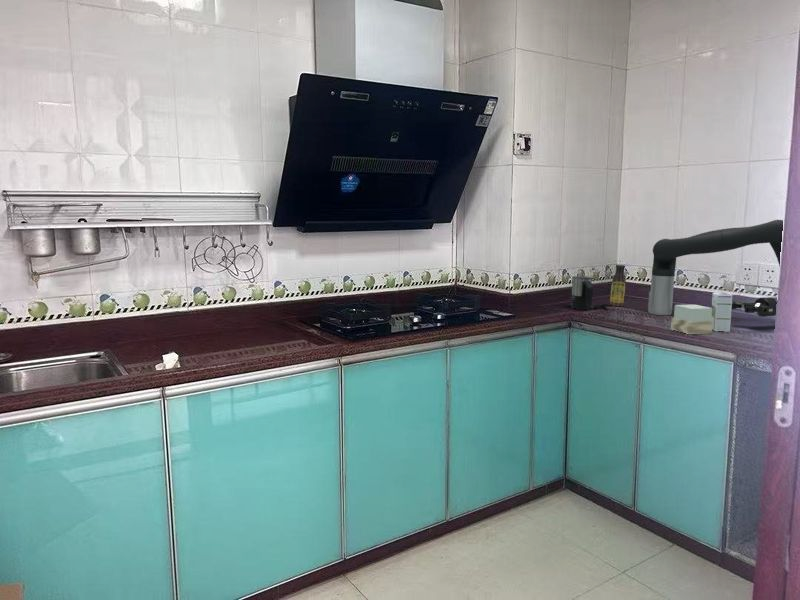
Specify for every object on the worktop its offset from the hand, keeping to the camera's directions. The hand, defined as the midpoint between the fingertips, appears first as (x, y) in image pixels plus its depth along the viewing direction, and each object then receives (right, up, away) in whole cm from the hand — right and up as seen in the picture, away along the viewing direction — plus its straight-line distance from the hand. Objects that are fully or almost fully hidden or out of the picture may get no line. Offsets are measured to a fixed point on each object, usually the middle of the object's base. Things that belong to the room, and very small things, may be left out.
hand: (736, 308), depth 231 cm
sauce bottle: (-25, 0, +58) cm, 63 cm away
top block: (-19, -4, -4) cm, 20 cm away
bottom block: (-20, -9, -4) cm, 22 cm away
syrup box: (-7, -9, -1) cm, 11 cm away
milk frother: (-41, -1, +49) cm, 64 cm away
